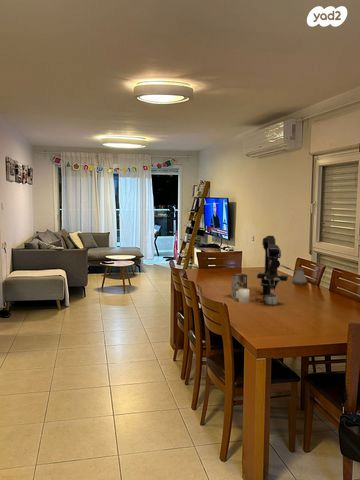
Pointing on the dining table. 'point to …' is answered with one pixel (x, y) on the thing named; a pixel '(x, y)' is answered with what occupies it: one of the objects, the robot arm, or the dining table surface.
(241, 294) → the mug
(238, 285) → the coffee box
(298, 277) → the coffee pot
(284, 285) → the dining table surface
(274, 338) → the dining table surface
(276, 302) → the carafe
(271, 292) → the plunger
